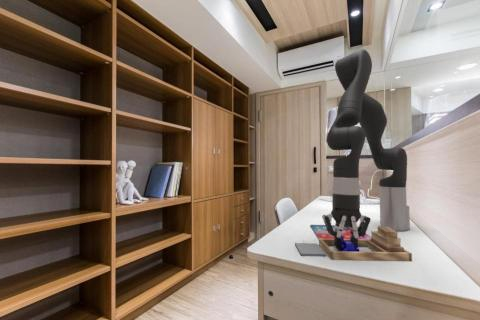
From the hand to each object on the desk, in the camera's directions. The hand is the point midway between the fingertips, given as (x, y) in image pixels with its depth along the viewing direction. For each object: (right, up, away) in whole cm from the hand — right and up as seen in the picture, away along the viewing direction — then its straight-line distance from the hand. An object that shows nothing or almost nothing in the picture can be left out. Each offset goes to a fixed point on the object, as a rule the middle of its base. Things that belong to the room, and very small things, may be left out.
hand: (345, 249), depth 67 cm
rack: (+4, -1, 0) cm, 4 cm away
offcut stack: (+12, -1, -1) cm, 12 cm away
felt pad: (-10, -1, +2) cm, 11 cm away
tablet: (+6, -2, +17) cm, 18 cm away
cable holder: (0, -1, 0) cm, 1 cm away
